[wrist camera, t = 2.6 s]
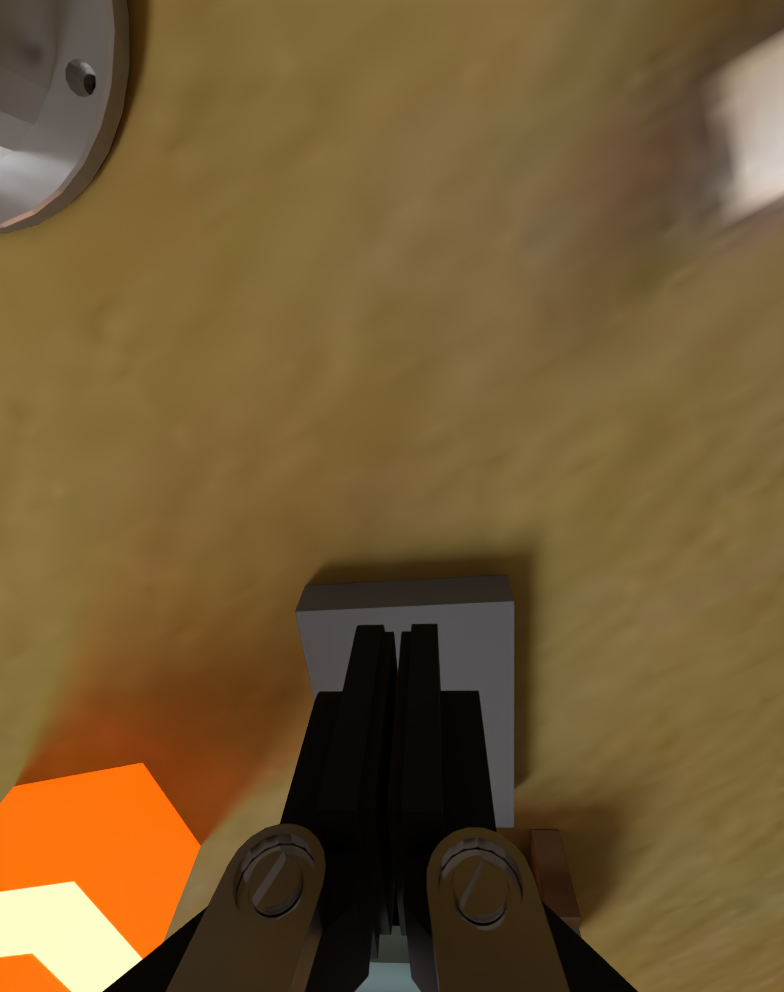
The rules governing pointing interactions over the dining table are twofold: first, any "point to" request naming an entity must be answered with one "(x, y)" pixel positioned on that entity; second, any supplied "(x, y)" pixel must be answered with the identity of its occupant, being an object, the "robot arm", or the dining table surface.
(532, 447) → the dining table surface
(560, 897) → the shelf dock
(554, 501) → the dining table surface
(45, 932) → the orange juice
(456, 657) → the slate tile
